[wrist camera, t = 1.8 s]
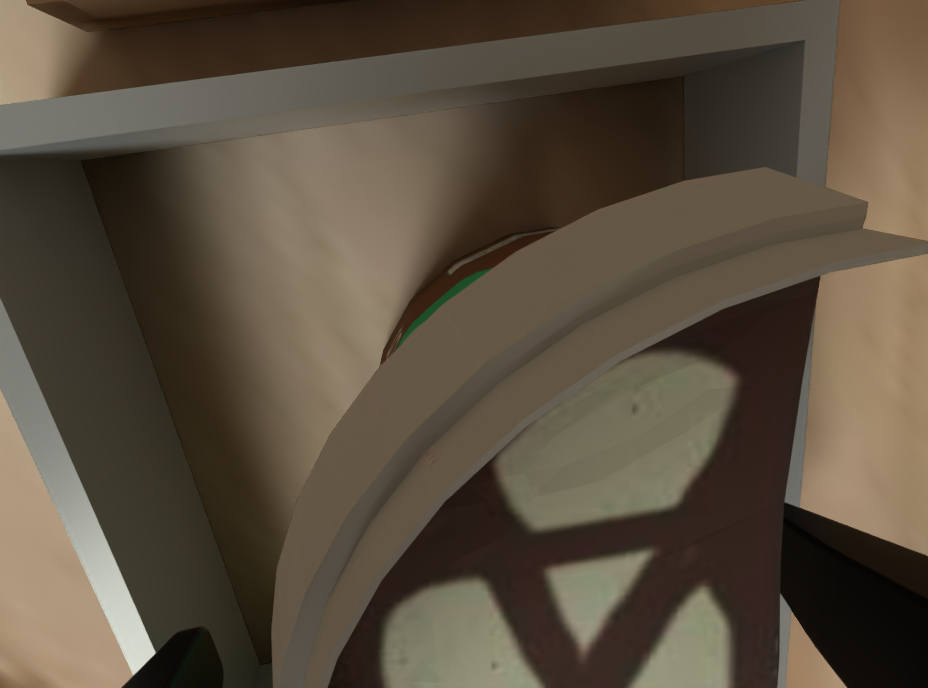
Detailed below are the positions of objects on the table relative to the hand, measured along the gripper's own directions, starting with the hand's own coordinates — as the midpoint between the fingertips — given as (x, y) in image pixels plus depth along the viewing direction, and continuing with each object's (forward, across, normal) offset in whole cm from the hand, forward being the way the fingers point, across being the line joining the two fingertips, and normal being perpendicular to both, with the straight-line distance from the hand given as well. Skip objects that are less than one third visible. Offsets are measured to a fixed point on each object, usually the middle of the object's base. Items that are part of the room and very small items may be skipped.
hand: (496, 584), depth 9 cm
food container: (+7, 0, 0) cm, 7 cm away
